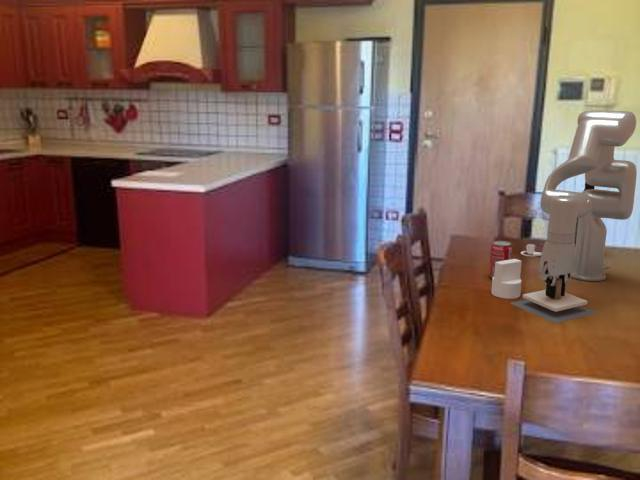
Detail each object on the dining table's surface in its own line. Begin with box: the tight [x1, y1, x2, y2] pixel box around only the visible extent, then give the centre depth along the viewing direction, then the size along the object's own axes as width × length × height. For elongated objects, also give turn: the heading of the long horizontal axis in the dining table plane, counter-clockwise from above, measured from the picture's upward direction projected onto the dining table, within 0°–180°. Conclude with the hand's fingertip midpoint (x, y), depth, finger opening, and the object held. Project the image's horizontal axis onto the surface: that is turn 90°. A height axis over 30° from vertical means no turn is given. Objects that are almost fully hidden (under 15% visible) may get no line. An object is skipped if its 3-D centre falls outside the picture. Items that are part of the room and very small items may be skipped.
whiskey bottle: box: [574, 180, 596, 247], centre depth 239 cm, size 10×10×32 cm
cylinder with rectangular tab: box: [491, 258, 523, 300], centre depth 192 cm, size 9×9×12 cm
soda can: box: [489, 240, 513, 279], centre depth 211 cm, size 7×7×13 cm
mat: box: [509, 299, 599, 324], centre depth 181 cm, size 18×18×1 cm
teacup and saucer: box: [520, 243, 542, 257], centre depth 243 cm, size 9×8×4 cm
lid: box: [522, 276, 589, 312], centre depth 180 cm, size 13×13×7 cm
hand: (554, 295), depth 181 cm, fingers closed on lid, 3 cm apart
